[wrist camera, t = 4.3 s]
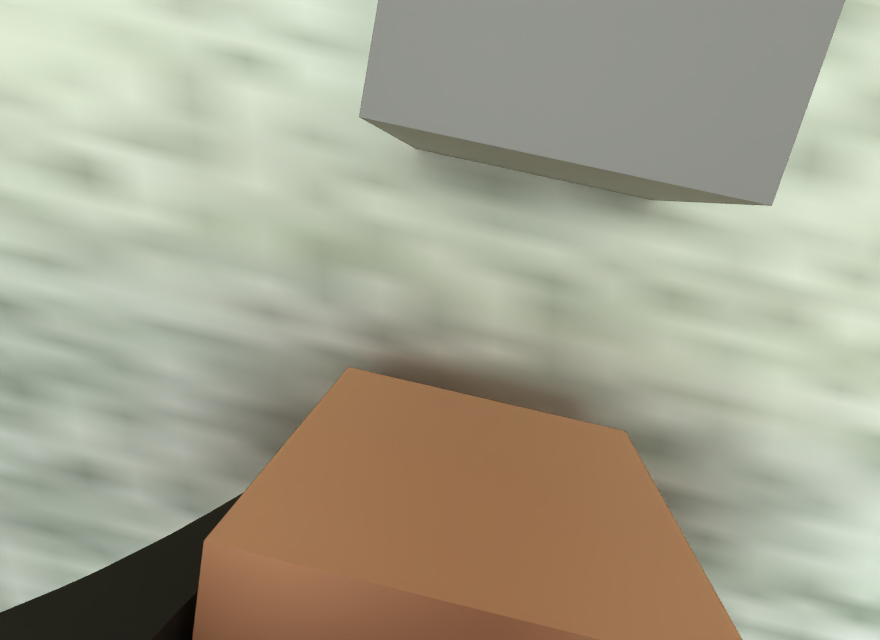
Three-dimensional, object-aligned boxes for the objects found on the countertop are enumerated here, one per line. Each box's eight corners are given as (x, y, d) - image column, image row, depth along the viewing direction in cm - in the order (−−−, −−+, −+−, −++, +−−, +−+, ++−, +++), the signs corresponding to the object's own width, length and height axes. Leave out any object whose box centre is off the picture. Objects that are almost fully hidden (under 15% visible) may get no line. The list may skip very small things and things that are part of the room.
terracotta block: (552, 659, 11) (602, 1047, 6) (308, 597, 11) (159, 923, 6) (625, 431, 9) (765, 681, 5) (348, 367, 10) (204, 541, 5)
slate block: (651, 199, 11) (772, 205, 6) (416, 148, 11) (358, 116, 7) (733, -72, 10) (961, -322, 5) (468, -124, 10) (446, -410, 5)
